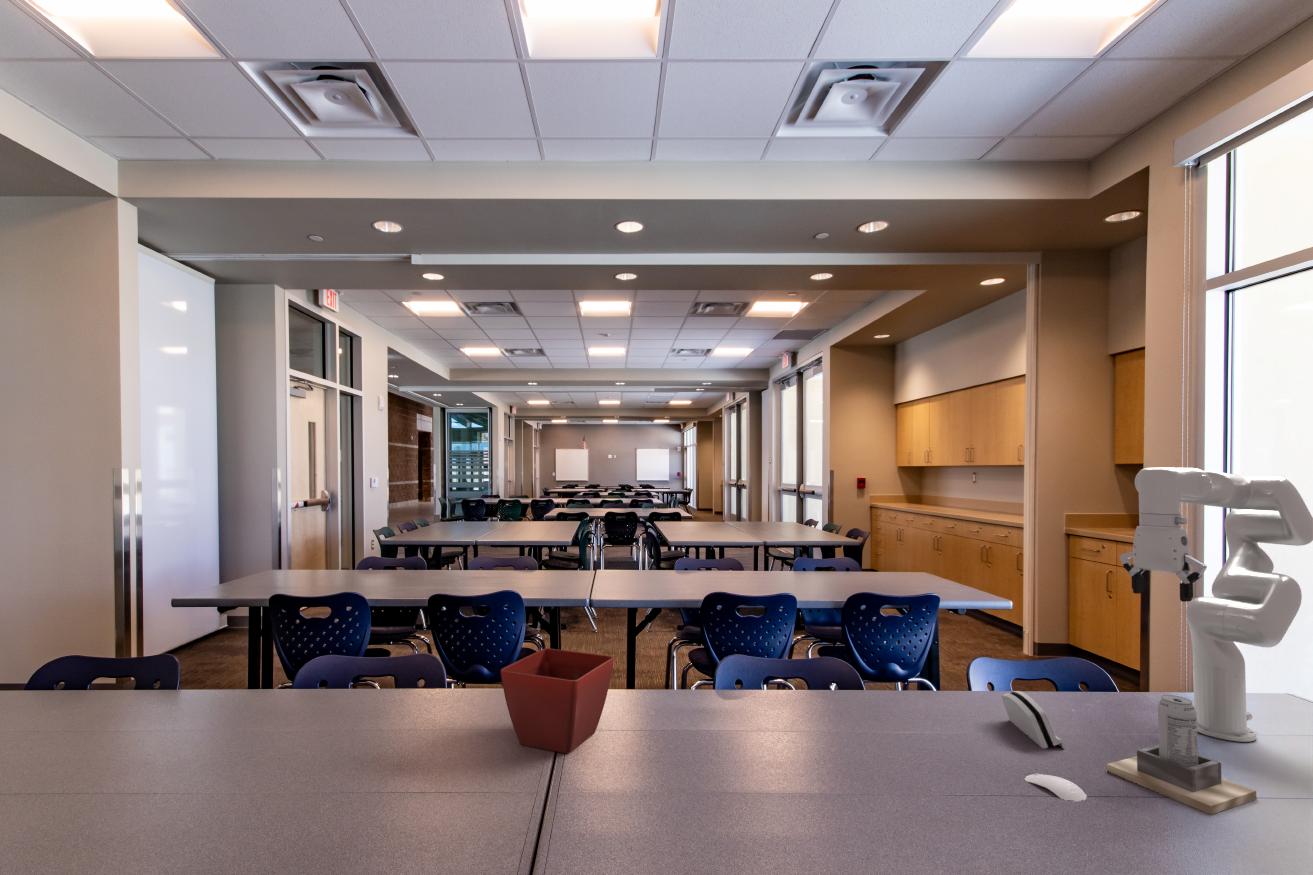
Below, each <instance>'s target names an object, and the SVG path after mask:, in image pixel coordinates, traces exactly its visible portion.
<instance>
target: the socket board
mask: <svg viewBox="0 0 1313 875" xmlns="http://www.w3.org/2000/svg"><path fill="white" fill-rule="evenodd" d="M1106 770H1107V771H1109V772H1108V773H1110V772H1111V773H1110V774H1112V773H1113V775H1115V774H1116V775H1115V776H1117V775H1118V777H1119V776H1121V777H1120V778H1122V777H1123V778H1122V779H1124V778H1125V780H1126V781H1129V782H1131V781H1132V782H1131V783H1134V784H1136V783H1137V785H1139V786H1142V787H1144V788H1145V789H1148V788H1149V790H1151V791H1153V790H1154V791H1153V792H1156V793H1158V792H1159V793H1158V794H1161V795H1163V796H1166V797H1167V798H1171V799H1172V800H1174V801H1177V802H1180V803H1182V804H1184V805H1187V806H1189V807H1191V808H1194V809H1196V810H1199V811H1202V812H1204V813H1206V814H1209V815H1211V816H1212V815H1214V814H1217V813H1221V812H1223V811H1226V810H1228V809H1231V808H1234V807H1237V806H1240V805H1243V804H1246V803H1249V802H1251V801H1254V800H1256V799H1257V790H1255V789H1252V788H1249V787H1247V786H1244V785H1242V784H1238V783H1236V782H1234V781H1230V780H1227V779H1225V778H1222V762H1221V761H1219V760H1215V759H1213V758H1210V757H1208V756H1204V755H1201V754H1199V753H1198V765H1196V766H1193V767H1186V766H1184V765H1181V764H1178V763H1175V762H1173V761H1170V760H1167V759H1165V758H1162V757H1159V744H1155V745H1151V746H1148V747H1143V748H1139V749H1136V756H1135V755H1134V756H1132V757H1128V758H1124V759H1121V760H1120V759H1119V760H1117V761H1113V762H1108V763H1107V764H1106ZM1107 771H1106V772H1107Z"/></svg>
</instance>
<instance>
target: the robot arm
mask: <svg viewBox="0 0 1313 875" xmlns="http://www.w3.org/2000/svg"><path fill="white" fill-rule="evenodd" d="M1134 487H1135V490H1136V491H1137V492H1138V515H1139V517H1138V522H1139V526H1138V525H1137V526H1136V528H1135V532H1134V536H1133V537H1134V538H1133V543H1132V544H1133V545H1132V546H1133V547H1132V550H1130V551H1129V552H1126V553H1122V554H1120V555H1119V557H1118V558H1119V560H1120V562H1121V564H1122V566H1123V568H1124V569H1125V570H1126V571H1127V573H1128V575H1129V576H1130V577H1131V589H1132V593H1133V594H1136V595H1137V594H1143V593H1145V577H1144V575H1142V574H1143V573H1144V572H1145V571H1152V572H1160V573H1167V574H1175V575H1176V576H1177V578H1179V579H1180V581H1181V583H1179V600H1180V602H1183V603H1185V602H1188V604H1187V606H1186V609H1185V610H1186V611H1185V614H1186V617H1185V618H1186V621H1187V625H1188V628H1189V632H1190V638H1191V649H1192V676H1193V677H1192V678H1193V679H1192V681H1193V682H1192V684H1193V706H1194V708H1195V710H1196V711H1197V733H1200V734H1202V735H1204V736H1208V737H1211V738H1216V739H1220V740H1225V741H1233V742H1239V743H1240V742H1241V743H1243V742H1244V743H1247V742H1249V743H1250V742H1253V741H1255V740H1257V733H1256V732H1255V731H1254V730H1253V729H1251V728H1249V727H1248V721H1251V720H1252V719H1253V715H1252V713H1250V712H1249V711H1247V688H1246V685H1247V684H1246V661H1245V658H1244V656H1243V653H1242V652H1241V650H1240V649H1239V648H1238V646H1237V645H1236V644H1235V643H1240V644H1245V645H1249V646H1254V647H1259V648H1260V647H1261V648H1273V647H1276V646H1277V645H1279V644H1280V643H1281V641H1282V640H1283V639H1284V637H1285V635H1286V633H1287V631H1289V628H1290V626H1291V625H1292V623H1293V621H1294V619H1295V617H1296V616H1297V614H1298V613H1299V610H1300V607H1301V604H1302V599H1303V598H1302V596H1303V595H1302V590H1301V587H1300V586H1301V585H1300V584H1299V583H1298V582H1297V580H1295V579H1294V578H1293V577H1291V576H1289V575H1287V574H1283V573H1277V572H1273V570H1274V567H1275V566H1274V562H1273V561H1272V560H1273V559H1271V558H1270V556H1269V555H1268V554H1267V552H1266V551H1265V550H1263V548H1261V547H1260V545H1259V544H1258V543H1262V544H1273V545H1284V546H1293V547H1294V546H1295V547H1296V546H1297V547H1298V546H1305V545H1309V544H1310V543H1312V542H1313V515H1312V514H1311V511H1310V510H1309V508H1308V506H1307V504H1306V502H1305V501H1304V498H1303V497H1302V495H1301V494H1300V492H1299V491H1298V489H1297V488H1296V486H1295V485H1294V483H1292V482H1291V481H1290V480H1288V478H1285V477H1283V476H1278V475H1277V476H1276V475H1270V476H1269V475H1240V474H1239V475H1238V474H1236V473H1235V474H1234V473H1227V472H1222V471H1216V470H1202V469H1200V468H1195V467H1170V466H1169V467H1165V466H1164V467H1160V466H1158V467H1146V468H1142V469H1139V471H1138V473H1137V474H1136V475H1135V478H1134ZM1181 503H1186V504H1190V505H1191V504H1192V505H1198V506H1207V507H1208V506H1210V507H1217V508H1218V507H1219V508H1225V509H1233V510H1232V511H1230V512H1228V514H1227V515H1226V516H1225V519H1224V530H1225V531H1224V532H1225V536H1226V537H1225V538H1226V541H1227V546H1228V550H1229V556H1228V558H1227V560H1226V561H1225V563H1224V565H1223V566H1222V567H1221V569H1220V570H1219V572H1218V574H1217V575H1216V577H1215V579H1214V580H1213V582H1212V585H1211V594H1212V596H1199V597H1195V598H1194V584H1195V583H1196V582H1197V581H1198V580H1199V579H1201V578H1202V577H1203V574H1204V573H1205V571H1206V570H1207V568H1208V566H1207V565H1206V564H1205V563H1203V562H1201V561H1199V560H1197V559H1196V558H1195V557H1193V556H1192V552H1191V547H1190V541H1189V536H1188V533H1187V531H1186V529H1185V528H1182V526H1183V525H1187V523H1188V519H1187V518H1184V517H1182V514H1181ZM1131 558H1132V562H1133V563H1131V560H1130V559H1131ZM1193 567H1194V571H1193V572H1191V571H1192V570H1193V569H1192V568H1193ZM1190 572H1191V573H1190Z"/></svg>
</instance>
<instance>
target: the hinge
mask: <svg viewBox="0 0 1313 875" xmlns="http://www.w3.org/2000/svg"><path fill="white" fill-rule="evenodd" d="M1001 699H1002V702H1003V706H1004V708H1005V711H1006V714H1007V717H1008V719H1009V722H1010V723H1012V724H1013V725H1014V726H1015V727H1016V728H1018V729H1019V730H1020V731H1021V732H1023V733H1024V734H1025V735H1026V736H1027V735H1028V738H1029V739H1031V740H1032V741H1033V742H1034V743H1036V744H1037V745H1038V746H1039V747H1041V748H1042V749H1047V748H1049V745H1052V746H1054V747H1056V746H1057V745H1058V746H1059V747H1060V746H1061V747H1060V748H1061V749H1063V750H1066V749H1065V748H1066V747H1065V744H1064V742H1063V740H1062V739H1061V738H1060V737H1058V736H1057V735H1056V734H1055V732H1054V730H1053V727H1052V725H1051V722H1050V720H1049V718H1048V716H1047V713H1046V711H1045V710H1044V709H1043V708H1042V707H1041V706H1040V705H1039V704H1038V703H1037V702H1036V701H1035V700H1034V699H1033V698H1032V697H1031V696H1029V695H1028V694H1027V693H1025V692H1023V691H1020V690H1013V691H1012V690H1011V692H1009V693H1008V692H1007V693H1006V692H1005V693H1004V694H1003V695H1001Z"/></svg>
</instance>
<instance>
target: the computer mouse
mask: <svg viewBox="0 0 1313 875" xmlns="http://www.w3.org/2000/svg"><path fill="white" fill-rule="evenodd" d="M1025 777H1026V778H1025ZM1025 777H1024V780H1025V781H1026V782H1027V783H1032V784H1035V785H1038V786H1041V787H1043V788H1046V789H1048V790H1049V791H1051V792H1052V793H1054V794H1055V795H1056V796H1057V797H1058V798H1060V799H1061V800H1063V799H1064V800H1063V801H1067V800H1074V801H1073V802H1082V801H1081V800H1083V801H1085V800H1087V798H1088V796H1087V794H1086V792H1084V791H1083V789H1082V788H1081V787H1079V785H1077V784H1076V783H1074V782H1072V781H1071V780H1068V779H1065V778H1063V777H1060V776H1055V775H1049V774H1041V773H1037V772H1036V773H1033V774H1028V775H1026V776H1025ZM1086 797H1087V798H1086Z"/></svg>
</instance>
